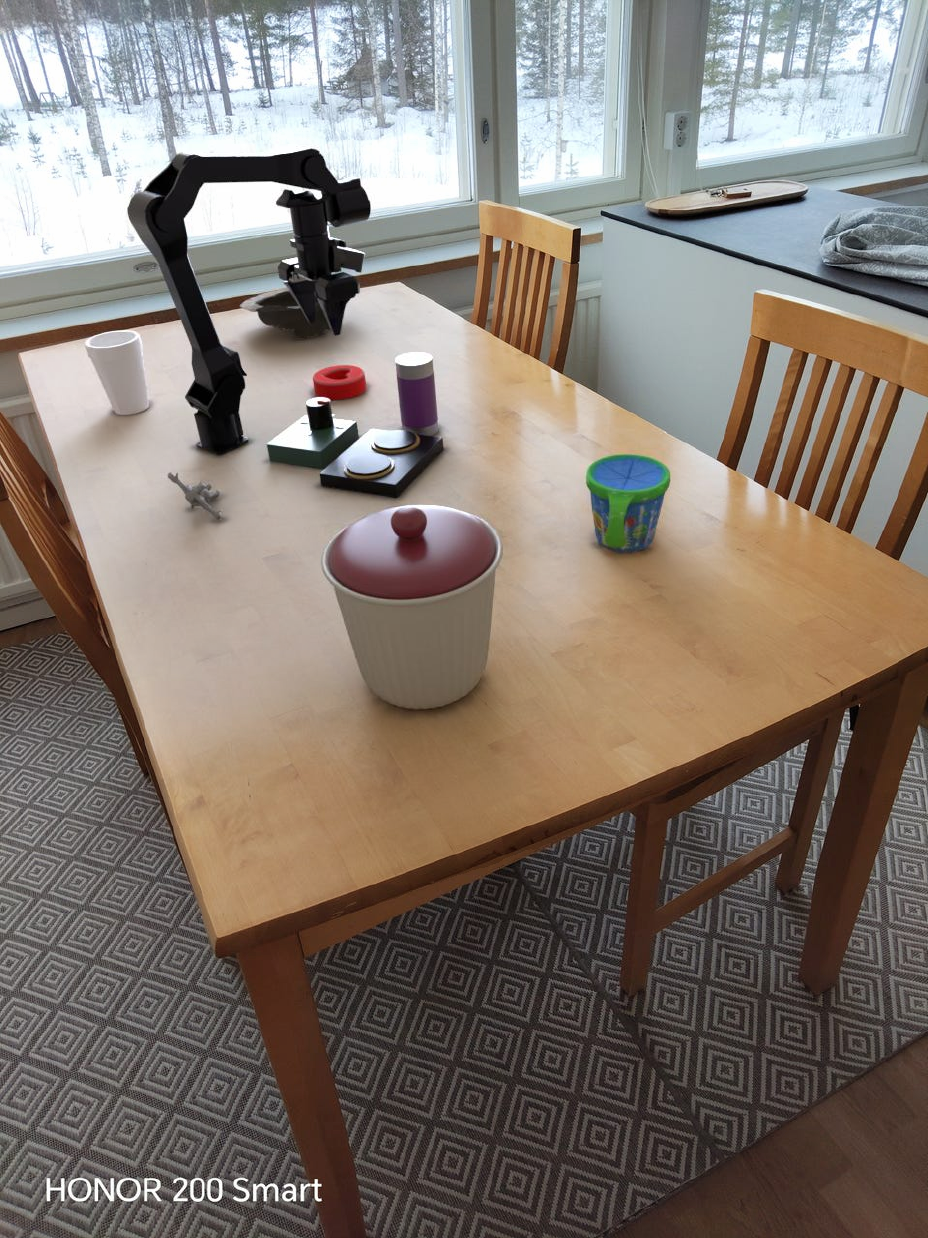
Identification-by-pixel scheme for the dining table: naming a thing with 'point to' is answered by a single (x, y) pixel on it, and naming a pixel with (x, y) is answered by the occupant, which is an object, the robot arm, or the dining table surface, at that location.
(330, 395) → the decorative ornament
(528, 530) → the dining table surface
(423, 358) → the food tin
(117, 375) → the foam cup
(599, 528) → the snack cup
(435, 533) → the canister
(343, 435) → the control box
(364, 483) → the hob
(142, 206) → the robot arm
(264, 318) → the stone bowl
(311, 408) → the hob knob
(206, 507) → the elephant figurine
